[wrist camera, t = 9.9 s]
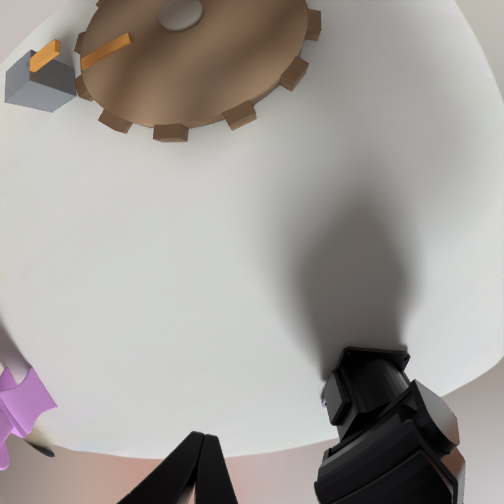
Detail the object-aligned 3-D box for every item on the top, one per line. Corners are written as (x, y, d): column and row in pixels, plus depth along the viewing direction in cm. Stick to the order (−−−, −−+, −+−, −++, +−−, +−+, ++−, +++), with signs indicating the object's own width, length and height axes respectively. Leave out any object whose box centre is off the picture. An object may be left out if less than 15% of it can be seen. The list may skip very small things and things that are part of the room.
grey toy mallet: (99, 82, 17) (54, 60, 11) (51, 112, 17) (4, 102, 12) (96, 55, 16) (55, 30, 10) (50, 85, 17) (6, 71, 11)
